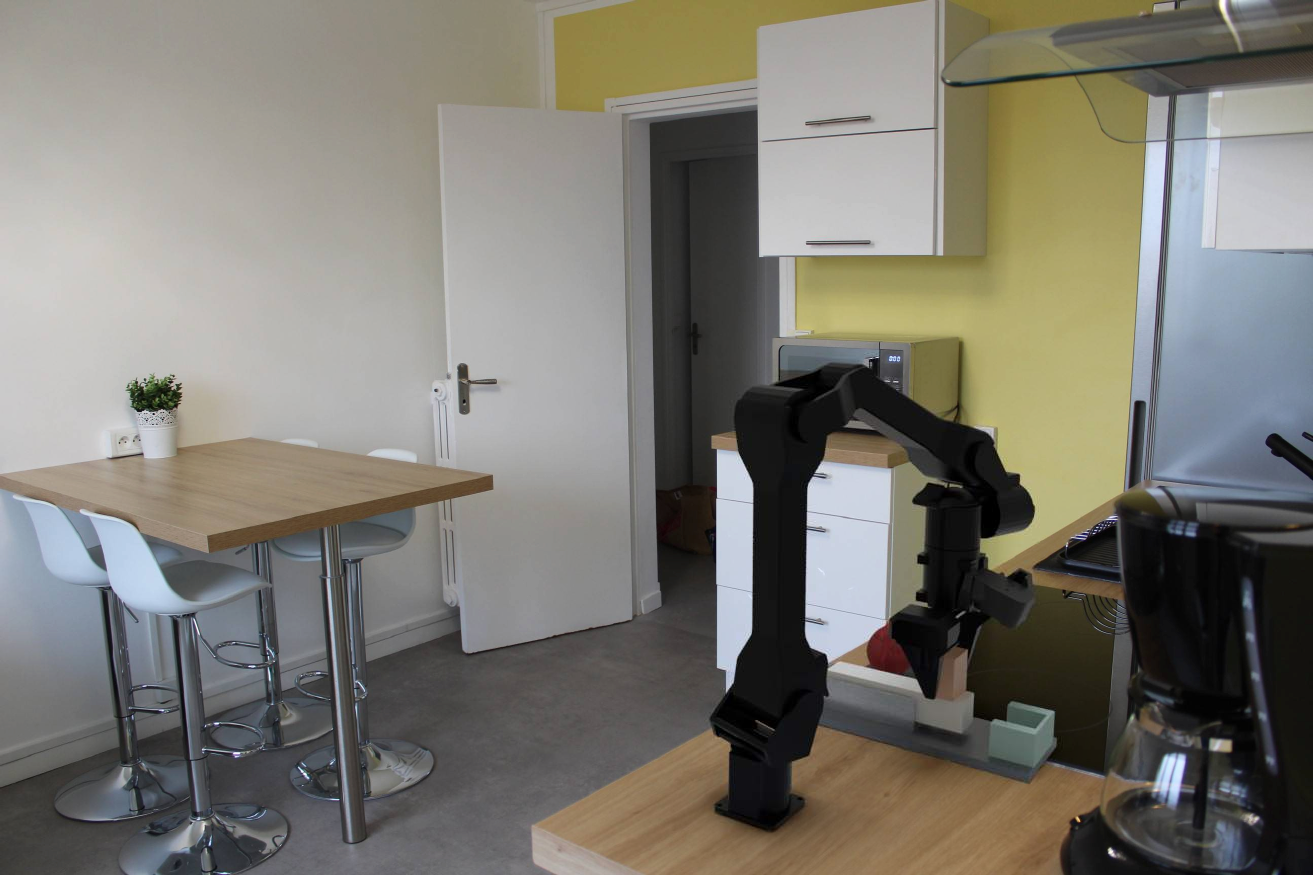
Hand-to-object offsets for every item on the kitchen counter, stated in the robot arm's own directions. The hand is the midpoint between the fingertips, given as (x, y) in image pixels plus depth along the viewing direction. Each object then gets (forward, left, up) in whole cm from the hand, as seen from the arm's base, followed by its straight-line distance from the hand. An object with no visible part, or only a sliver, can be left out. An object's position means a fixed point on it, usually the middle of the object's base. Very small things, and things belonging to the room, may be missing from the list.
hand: (945, 684), depth 109 cm
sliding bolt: (0, +6, -4) cm, 7 cm away
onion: (+12, +12, -6) cm, 18 cm away
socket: (0, -8, -6) cm, 10 cm away
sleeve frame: (0, +3, -6) cm, 7 cm away
